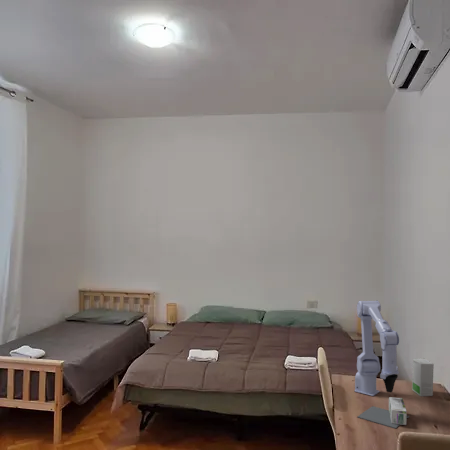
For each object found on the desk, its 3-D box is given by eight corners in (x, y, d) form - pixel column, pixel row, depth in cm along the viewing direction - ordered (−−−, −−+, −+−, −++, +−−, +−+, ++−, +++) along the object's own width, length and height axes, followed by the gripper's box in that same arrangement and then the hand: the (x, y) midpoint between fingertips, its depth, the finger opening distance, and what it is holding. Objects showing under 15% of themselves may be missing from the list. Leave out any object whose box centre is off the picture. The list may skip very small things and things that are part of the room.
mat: (357, 417, 189) (357, 416, 189) (372, 406, 200) (372, 406, 200) (395, 428, 179) (395, 427, 179) (409, 416, 190) (409, 415, 190)
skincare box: (411, 390, 221) (411, 358, 221) (424, 389, 222) (424, 358, 222) (420, 396, 213) (420, 363, 213) (434, 396, 213) (434, 363, 213)
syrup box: (402, 411, 195) (407, 425, 181) (388, 409, 196) (391, 423, 182) (402, 398, 195) (407, 411, 181) (388, 396, 196) (391, 409, 182)
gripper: (392, 365, 186) (392, 398, 186) (405, 358, 197) (405, 389, 197) (375, 362, 191) (375, 394, 191) (389, 355, 202) (389, 385, 202)
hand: (389, 391), depth 194 cm, fingers closed
